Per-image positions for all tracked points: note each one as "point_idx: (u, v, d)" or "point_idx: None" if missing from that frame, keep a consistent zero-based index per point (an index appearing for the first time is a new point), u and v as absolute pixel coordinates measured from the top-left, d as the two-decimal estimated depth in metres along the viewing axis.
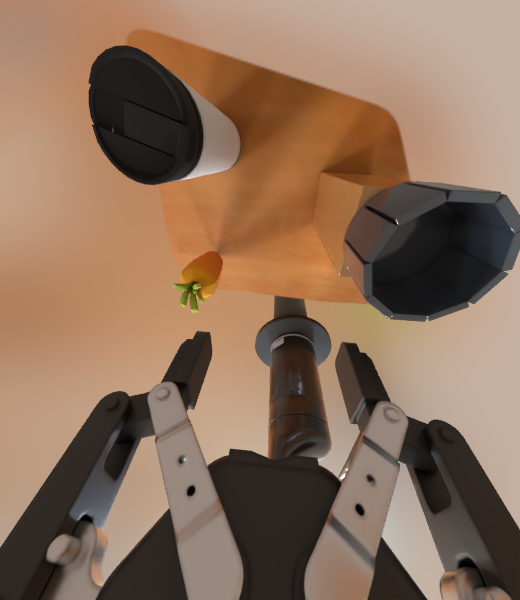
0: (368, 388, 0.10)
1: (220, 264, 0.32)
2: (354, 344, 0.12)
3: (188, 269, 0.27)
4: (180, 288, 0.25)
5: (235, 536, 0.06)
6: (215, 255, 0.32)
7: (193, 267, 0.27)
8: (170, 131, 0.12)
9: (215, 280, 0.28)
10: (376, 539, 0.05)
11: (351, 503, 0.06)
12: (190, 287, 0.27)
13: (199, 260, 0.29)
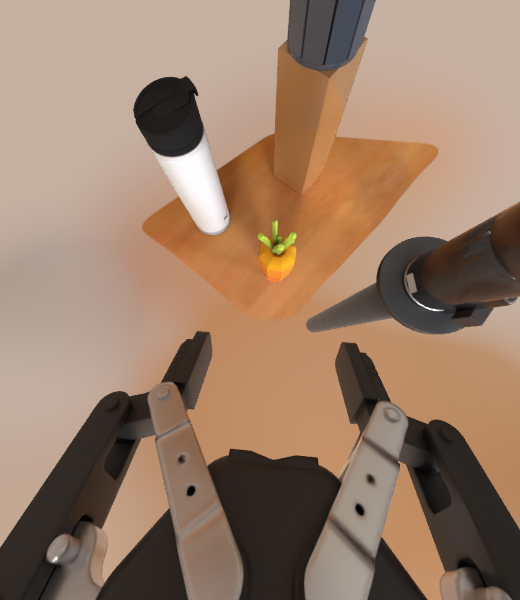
0: (368, 388, 0.10)
1: None
2: (354, 344, 0.12)
3: (260, 248, 0.27)
4: (265, 236, 0.23)
5: (235, 536, 0.06)
6: None
7: (261, 243, 0.27)
8: (179, 96, 0.21)
9: None
10: (376, 539, 0.05)
11: (351, 503, 0.06)
12: (273, 246, 0.25)
13: None
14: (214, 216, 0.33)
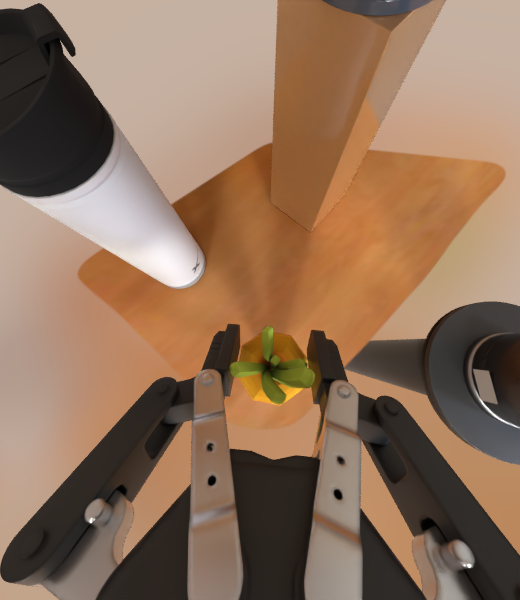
0: (327, 369, 0.11)
1: None
2: (322, 331, 0.13)
3: (240, 357, 0.14)
4: (246, 366, 0.11)
5: None
6: None
7: (243, 345, 0.15)
8: (32, 58, 0.08)
9: (288, 335, 0.15)
10: (357, 516, 0.06)
11: (351, 503, 0.06)
12: (265, 369, 0.13)
13: None
14: (174, 271, 0.21)
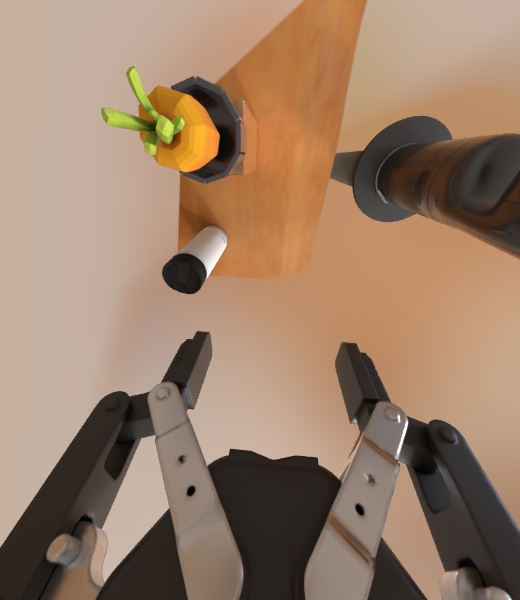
0: (368, 388, 0.10)
1: None
2: (354, 344, 0.12)
3: (140, 118, 0.15)
4: (118, 115, 0.12)
5: (235, 536, 0.06)
6: None
7: (140, 104, 0.14)
8: (182, 267, 0.32)
9: (186, 94, 0.14)
10: (376, 539, 0.05)
11: (351, 503, 0.06)
12: (152, 127, 0.14)
13: None
14: (221, 252, 0.45)
